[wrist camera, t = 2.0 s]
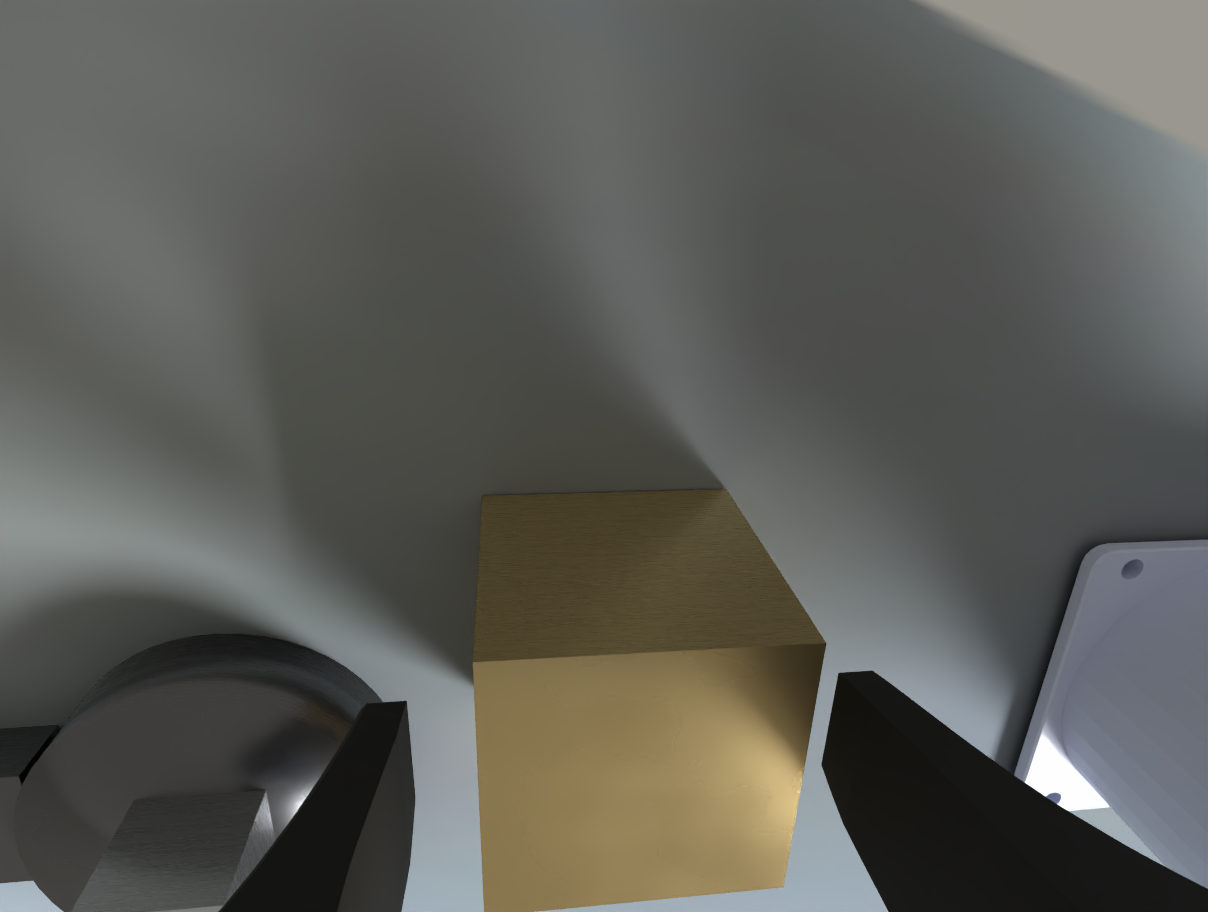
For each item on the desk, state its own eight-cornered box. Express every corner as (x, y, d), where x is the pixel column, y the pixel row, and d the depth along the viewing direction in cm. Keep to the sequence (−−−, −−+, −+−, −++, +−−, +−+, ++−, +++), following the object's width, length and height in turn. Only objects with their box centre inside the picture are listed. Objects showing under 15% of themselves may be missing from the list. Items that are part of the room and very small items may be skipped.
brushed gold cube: (726, 489, 15) (826, 643, 11) (706, 683, 17) (783, 887, 13) (482, 495, 15) (472, 662, 10) (490, 696, 17) (484, 916, 12)
